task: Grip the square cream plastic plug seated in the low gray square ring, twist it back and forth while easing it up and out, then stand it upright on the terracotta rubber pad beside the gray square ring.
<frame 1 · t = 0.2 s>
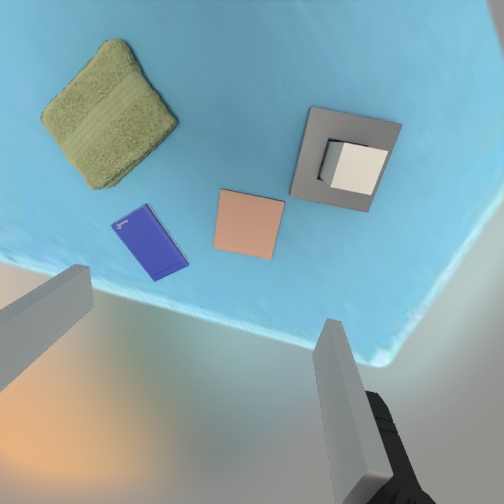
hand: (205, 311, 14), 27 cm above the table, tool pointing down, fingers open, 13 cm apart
hard drive: (154, 242, 44), on the table
gray square ring: (337, 161, 35), on the table
plug: (346, 165, 30), in the gray square ring
washcloth: (114, 124, 36), on the table
pad: (247, 225, 40), on the table
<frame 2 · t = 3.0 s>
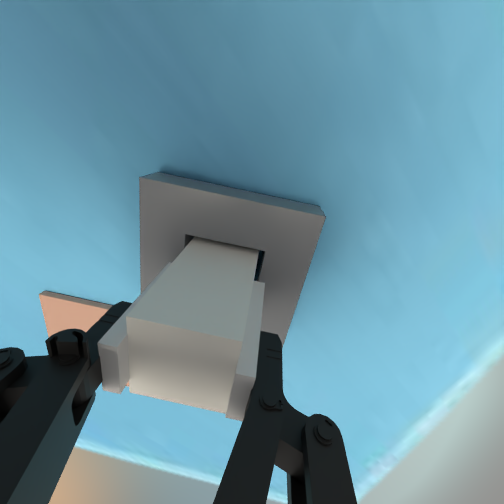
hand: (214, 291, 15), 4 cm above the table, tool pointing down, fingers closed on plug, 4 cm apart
gray square ring: (226, 260, 19), on the table
plug: (210, 298, 15), in the gray square ring, touching gripper
pad: (102, 342, 24), on the table
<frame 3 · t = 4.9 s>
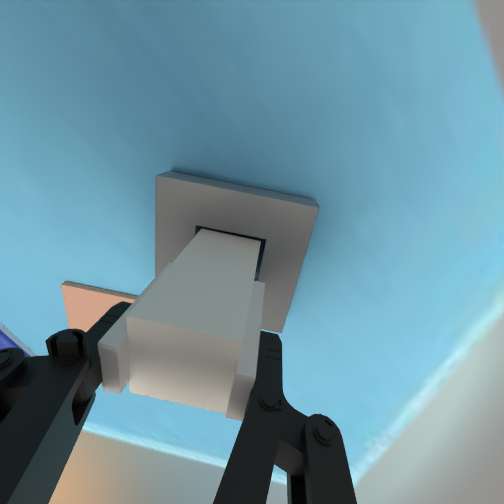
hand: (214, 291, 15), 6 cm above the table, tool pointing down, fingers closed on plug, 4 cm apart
gray square ring: (231, 250, 21), on the table
plug: (211, 298, 15), point 7 cm above the table, touching gripper
pad: (117, 329, 27), on the table
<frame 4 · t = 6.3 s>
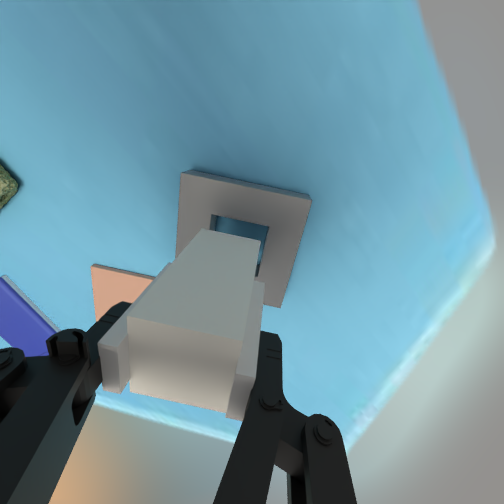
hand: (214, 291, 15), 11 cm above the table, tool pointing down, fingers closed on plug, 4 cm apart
hard drive: (28, 318, 34), on the table
gray square ring: (239, 237, 25), on the table
plug: (211, 298, 15), point 11 cm above the table, touching gripper
pad: (136, 307, 30), on the table
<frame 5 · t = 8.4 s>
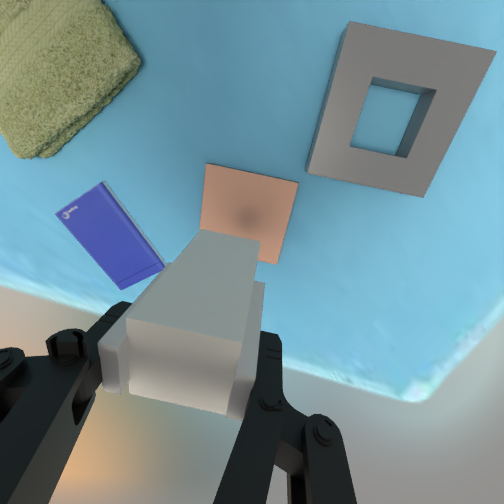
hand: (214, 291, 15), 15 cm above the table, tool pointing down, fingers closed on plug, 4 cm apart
hard drive: (118, 237, 32), on the table
gray square ring: (379, 121, 23), on the table
plug: (210, 299, 15), point 16 cm above the table, touching gripper
washcloth: (51, 62, 25), on the table
pad: (244, 216, 29), on the table
when the fingers open (6 cm above the table, at t = 9.8 s): plug drops 1 cm, resting on pad.
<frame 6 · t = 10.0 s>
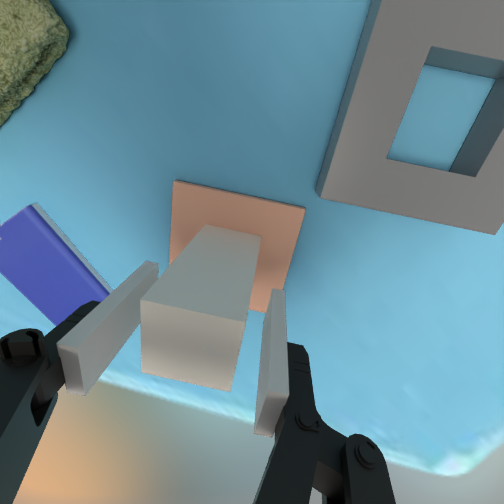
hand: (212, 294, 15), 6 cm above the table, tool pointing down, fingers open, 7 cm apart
hard drive: (65, 274, 24), on the table
gray square ring: (429, 120, 15), on the table
plug: (214, 288, 16), on the pad, point 6 cm above the table
pad: (230, 252, 21), on the table
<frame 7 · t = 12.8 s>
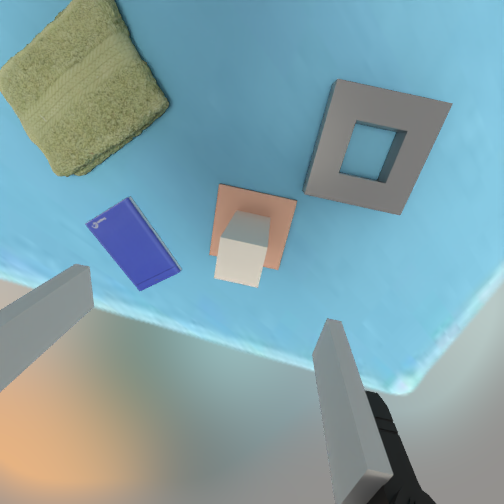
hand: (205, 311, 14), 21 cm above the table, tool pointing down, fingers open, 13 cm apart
hard drive: (139, 244, 37), on the table
gray square ring: (364, 152, 28), on the table
plug: (245, 243, 28), on the pad, point 6 cm above the table
washcloth: (91, 99, 29), on the table
pad: (250, 228, 33), on the table
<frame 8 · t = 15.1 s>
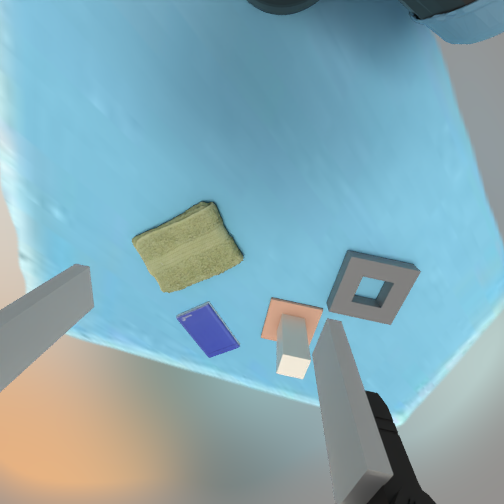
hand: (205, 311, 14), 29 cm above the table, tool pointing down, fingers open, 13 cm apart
hard drive: (210, 327, 53), on the table
gray square ring: (367, 284, 44), on the table
plug: (291, 343, 44), on the pad, point 6 cm above the table
washcloth: (190, 247, 45), on the table
pad: (290, 322, 49), on the table
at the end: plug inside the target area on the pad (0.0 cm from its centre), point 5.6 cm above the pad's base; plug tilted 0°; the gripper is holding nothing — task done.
